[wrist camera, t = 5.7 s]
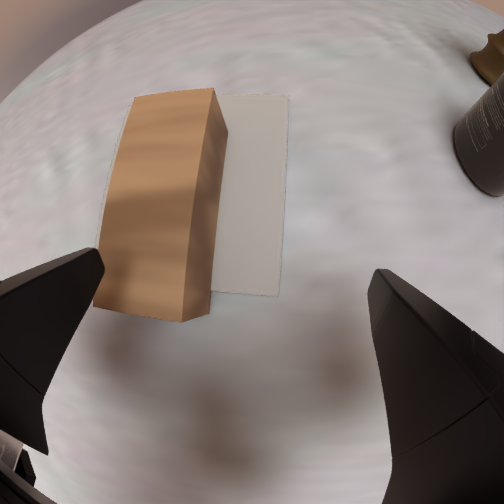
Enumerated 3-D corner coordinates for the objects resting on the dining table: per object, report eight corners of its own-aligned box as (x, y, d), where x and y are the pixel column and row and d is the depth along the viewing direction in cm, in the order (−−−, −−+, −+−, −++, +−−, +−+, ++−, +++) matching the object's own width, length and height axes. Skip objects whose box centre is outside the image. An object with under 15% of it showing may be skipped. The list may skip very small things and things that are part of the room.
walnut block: (181, 322, 11) (213, 85, 12) (93, 306, 11) (135, 94, 12) (209, 313, 15) (228, 129, 16) (137, 303, 15) (163, 132, 17)
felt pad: (278, 296, 15) (278, 296, 15) (94, 276, 16) (91, 275, 16) (288, 97, 17) (288, 95, 16) (130, 107, 18) (128, 105, 18)
